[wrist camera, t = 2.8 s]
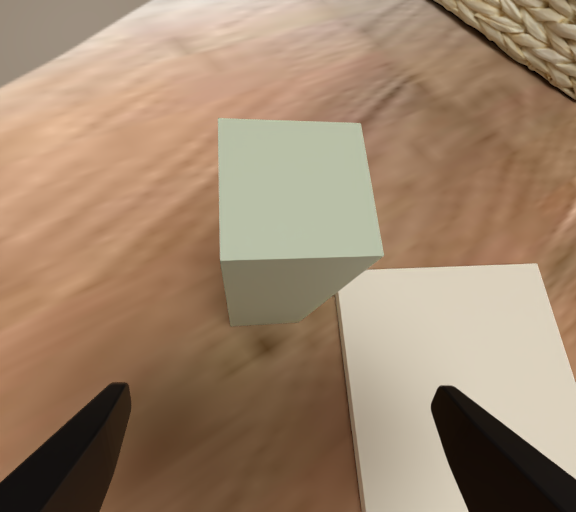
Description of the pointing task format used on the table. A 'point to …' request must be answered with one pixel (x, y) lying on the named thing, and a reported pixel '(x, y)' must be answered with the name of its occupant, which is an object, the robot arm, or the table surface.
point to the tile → (448, 373)
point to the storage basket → (528, 33)
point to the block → (292, 216)
